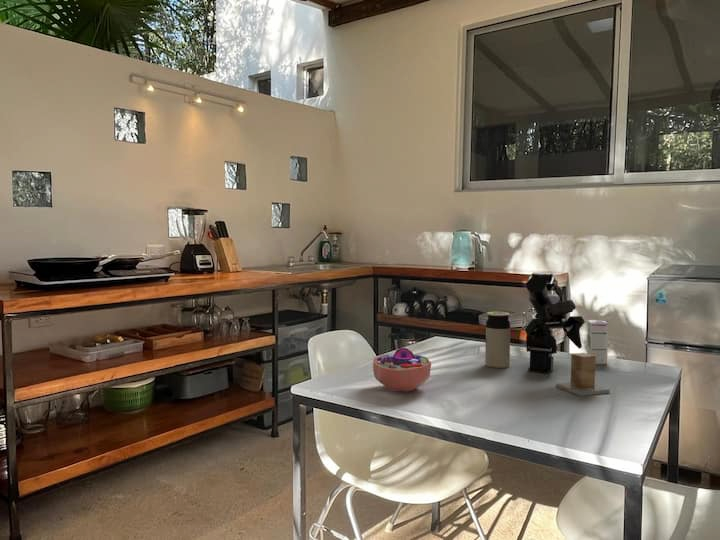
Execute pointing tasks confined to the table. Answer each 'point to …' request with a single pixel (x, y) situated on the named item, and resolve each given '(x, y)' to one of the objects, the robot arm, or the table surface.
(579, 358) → the walnut block
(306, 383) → the table surface
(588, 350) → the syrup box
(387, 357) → the cell model
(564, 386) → the coaster
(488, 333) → the travel mug
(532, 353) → the robot arm
